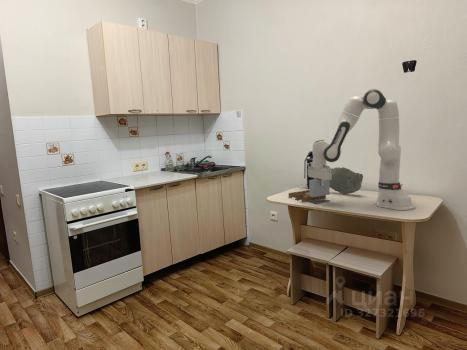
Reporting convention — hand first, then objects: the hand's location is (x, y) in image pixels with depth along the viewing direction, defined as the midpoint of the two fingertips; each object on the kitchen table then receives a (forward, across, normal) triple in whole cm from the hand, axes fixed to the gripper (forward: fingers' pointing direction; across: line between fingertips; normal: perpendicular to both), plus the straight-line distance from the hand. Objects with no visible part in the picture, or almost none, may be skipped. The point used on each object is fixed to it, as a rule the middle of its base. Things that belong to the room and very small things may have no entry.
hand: (319, 185), depth 218 cm
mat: (+11, 0, 0) cm, 11 cm away
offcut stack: (+11, +10, +1) cm, 15 cm away
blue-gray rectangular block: (+7, 0, 0) cm, 7 cm away
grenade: (+11, +39, -26) cm, 48 cm away
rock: (+11, +6, -28) cm, 31 cm away
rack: (+11, +13, +1) cm, 17 cm away
